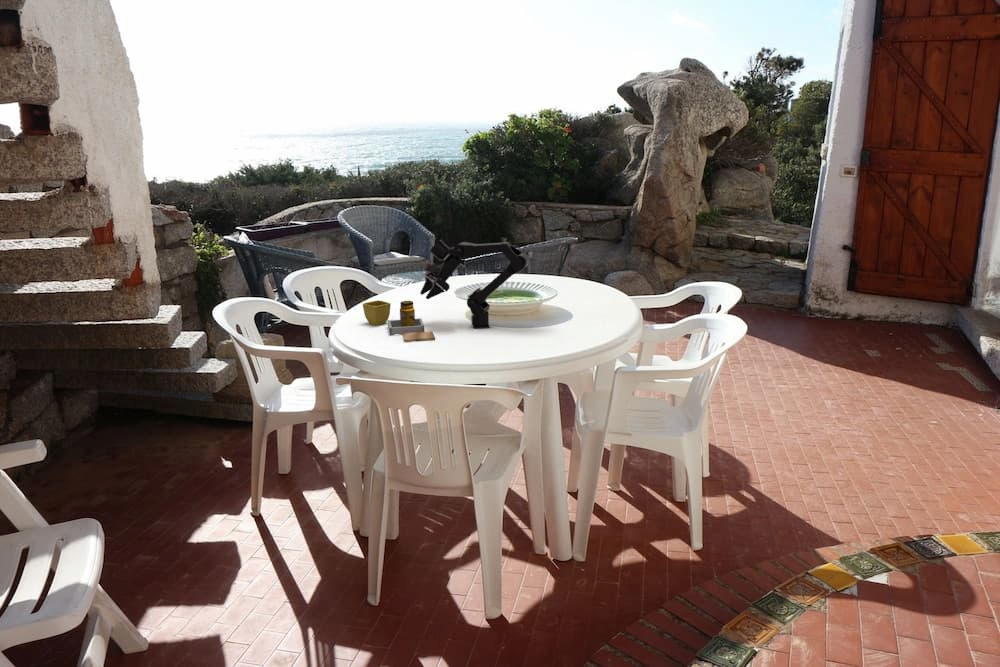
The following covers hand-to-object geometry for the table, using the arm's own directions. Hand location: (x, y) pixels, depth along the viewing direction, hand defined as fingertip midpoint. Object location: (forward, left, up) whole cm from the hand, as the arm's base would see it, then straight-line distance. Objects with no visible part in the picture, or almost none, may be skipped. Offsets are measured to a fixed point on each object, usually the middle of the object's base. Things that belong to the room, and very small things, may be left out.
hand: (423, 296), depth 302 cm
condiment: (+8, +1, -14) cm, 16 cm away
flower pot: (+19, -13, -14) cm, 27 cm away
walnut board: (+4, +14, -14) cm, 20 cm away
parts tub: (+8, +1, -14) cm, 16 cm away
